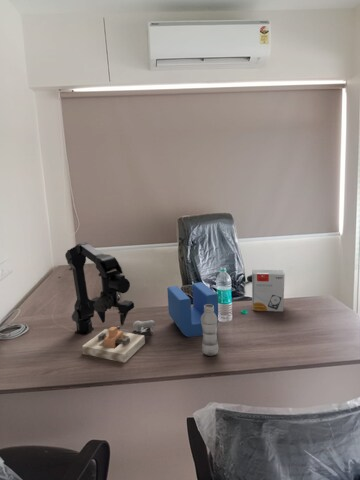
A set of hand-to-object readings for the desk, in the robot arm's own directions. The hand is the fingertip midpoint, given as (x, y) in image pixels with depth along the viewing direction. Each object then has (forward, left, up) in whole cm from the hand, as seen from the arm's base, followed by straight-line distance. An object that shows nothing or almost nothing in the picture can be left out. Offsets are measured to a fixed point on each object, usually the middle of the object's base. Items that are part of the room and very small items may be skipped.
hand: (112, 323), depth 138 cm
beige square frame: (0, 0, -11) cm, 11 cm away
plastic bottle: (+39, +9, -11) cm, 42 cm away
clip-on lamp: (+2, +14, -12) cm, 18 cm away
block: (+24, +29, -11) cm, 39 cm away
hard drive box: (+53, +61, -11) cm, 81 cm away
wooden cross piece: (0, 0, -10) cm, 10 cm away
